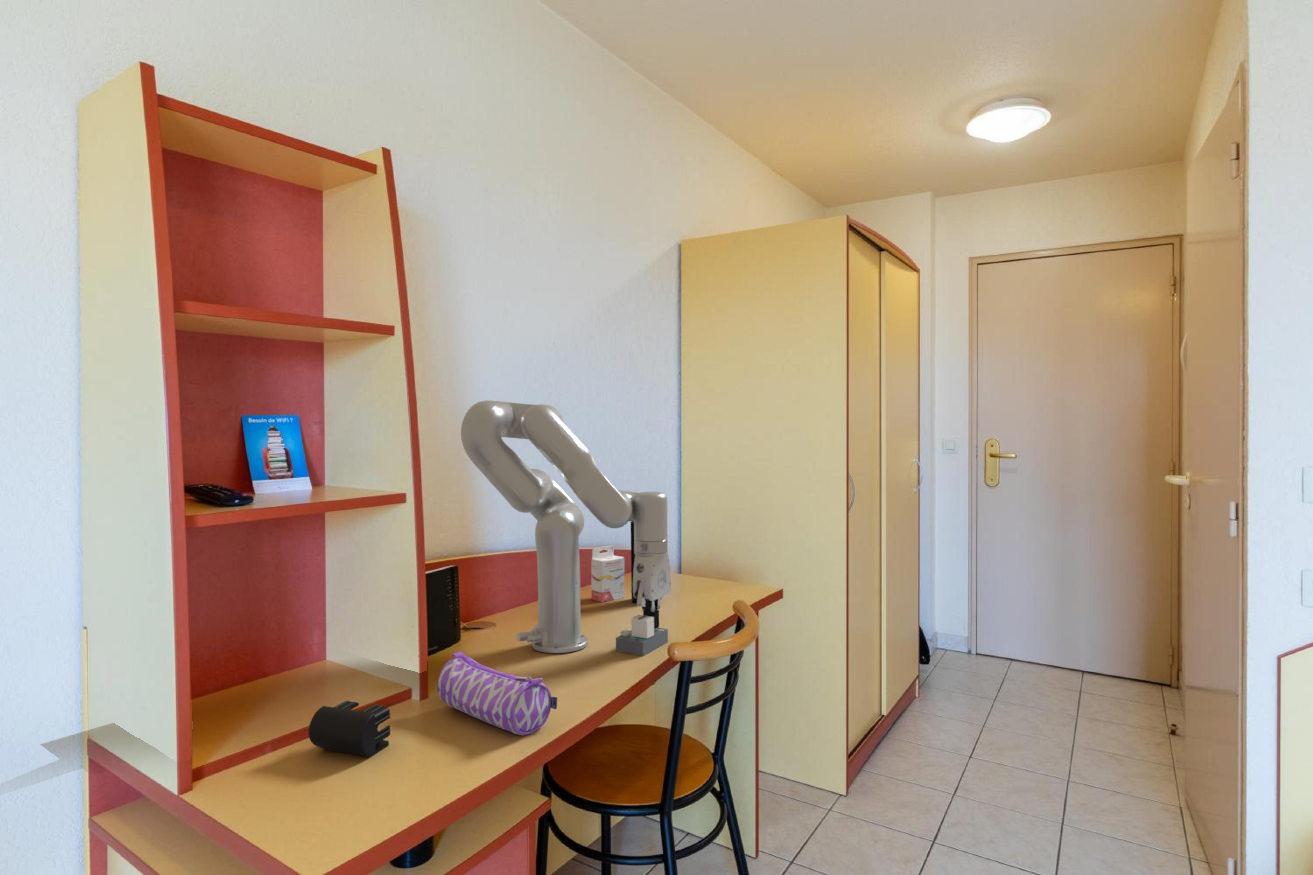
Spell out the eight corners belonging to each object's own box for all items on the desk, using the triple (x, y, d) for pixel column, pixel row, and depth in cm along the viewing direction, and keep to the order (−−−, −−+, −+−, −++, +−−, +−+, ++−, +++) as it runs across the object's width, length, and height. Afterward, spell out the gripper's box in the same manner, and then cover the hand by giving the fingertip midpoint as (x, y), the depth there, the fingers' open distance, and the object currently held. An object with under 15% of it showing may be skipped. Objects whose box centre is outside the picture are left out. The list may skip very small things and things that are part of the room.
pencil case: (559, 725, 122) (558, 670, 122) (518, 746, 114) (517, 687, 114) (472, 697, 135) (471, 646, 134) (430, 713, 127) (429, 660, 127)
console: (643, 655, 156) (643, 637, 156) (616, 650, 160) (615, 633, 160) (667, 641, 166) (667, 624, 166) (641, 637, 169) (641, 620, 169)
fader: (647, 638, 158) (646, 619, 158) (631, 636, 160) (631, 617, 160) (654, 634, 160) (654, 616, 160) (638, 632, 162) (638, 613, 162)
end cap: (308, 756, 111) (307, 713, 111) (341, 737, 118) (340, 696, 118) (361, 765, 108) (360, 721, 108) (392, 745, 115) (392, 703, 115)
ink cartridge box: (602, 603, 201) (601, 550, 201) (591, 599, 205) (590, 548, 205) (625, 597, 207) (624, 546, 207) (614, 594, 211) (613, 544, 211)
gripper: (649, 553, 155) (649, 639, 155) (680, 543, 168) (680, 621, 168) (619, 550, 158) (619, 634, 159) (652, 540, 171) (652, 617, 172)
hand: (651, 627), depth 164 cm, fingers closed
